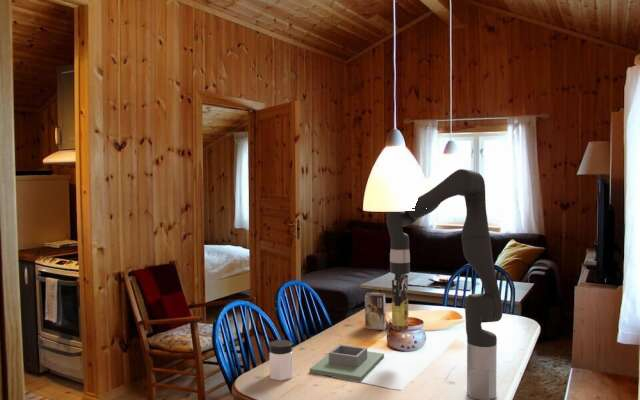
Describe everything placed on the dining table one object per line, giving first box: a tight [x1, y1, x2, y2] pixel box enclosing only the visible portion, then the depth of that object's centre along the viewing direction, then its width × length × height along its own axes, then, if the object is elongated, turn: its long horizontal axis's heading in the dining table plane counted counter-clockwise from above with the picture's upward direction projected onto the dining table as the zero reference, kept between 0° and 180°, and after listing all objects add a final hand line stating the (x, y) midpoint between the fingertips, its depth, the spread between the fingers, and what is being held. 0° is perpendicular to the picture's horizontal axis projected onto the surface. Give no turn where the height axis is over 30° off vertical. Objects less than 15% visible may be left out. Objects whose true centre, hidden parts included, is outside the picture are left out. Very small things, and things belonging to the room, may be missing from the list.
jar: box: [268, 339, 293, 382], centre depth 191 cm, size 9×8×12 cm
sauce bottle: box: [391, 277, 409, 331], centre depth 204 cm, size 6×6×20 cm
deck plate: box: [309, 344, 385, 382], centre depth 201 cm, size 26×20×6 cm
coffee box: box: [364, 291, 387, 331], centre depth 249 cm, size 9×6×16 cm
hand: (400, 303), depth 204 cm, fingers closed on sauce bottle, 6 cm apart
